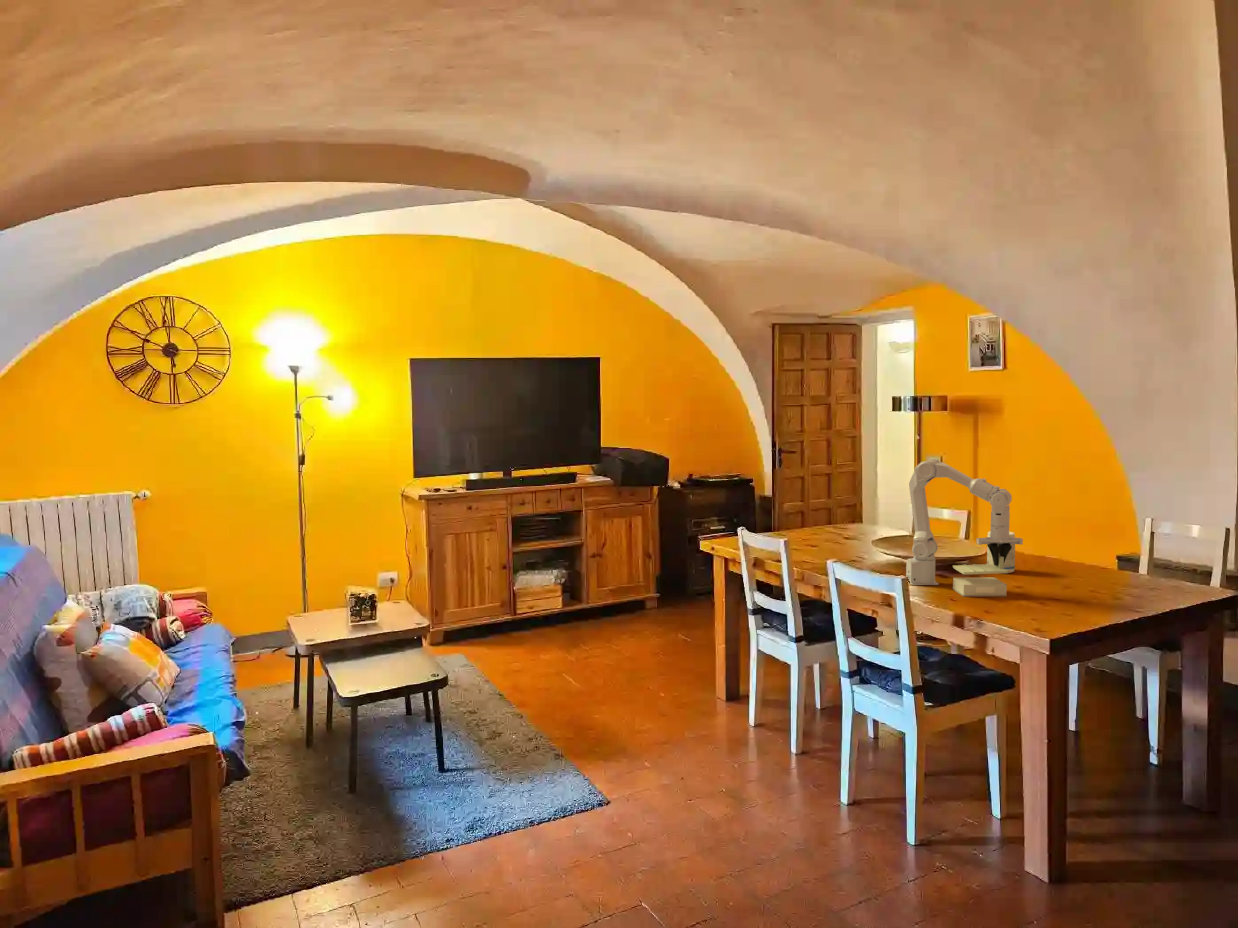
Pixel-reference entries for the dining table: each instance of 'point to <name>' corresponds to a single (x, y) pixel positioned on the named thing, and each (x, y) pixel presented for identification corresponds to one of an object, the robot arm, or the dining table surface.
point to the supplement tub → (1009, 559)
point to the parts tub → (979, 586)
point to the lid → (982, 568)
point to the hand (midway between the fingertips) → (998, 565)
